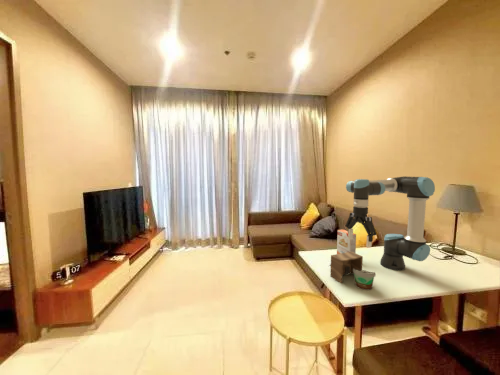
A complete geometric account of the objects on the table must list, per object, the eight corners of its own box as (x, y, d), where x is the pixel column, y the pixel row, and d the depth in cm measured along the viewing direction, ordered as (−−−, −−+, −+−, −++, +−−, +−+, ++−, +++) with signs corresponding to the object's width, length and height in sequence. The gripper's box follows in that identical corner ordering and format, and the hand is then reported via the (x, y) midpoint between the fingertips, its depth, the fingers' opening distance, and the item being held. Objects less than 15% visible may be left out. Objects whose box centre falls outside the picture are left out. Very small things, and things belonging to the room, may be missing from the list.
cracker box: (336, 254, 180) (337, 229, 178) (342, 253, 182) (343, 229, 180) (349, 261, 167) (350, 234, 165) (355, 260, 169) (356, 233, 167)
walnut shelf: (350, 271, 150) (351, 251, 149) (361, 277, 142) (362, 256, 141) (330, 276, 144) (331, 255, 143) (340, 283, 136) (341, 260, 134)
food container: (352, 287, 130) (352, 271, 130) (352, 283, 136) (352, 267, 135) (375, 292, 125) (376, 275, 124) (375, 287, 131) (375, 271, 130)
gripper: (339, 203, 136) (338, 237, 137) (373, 210, 112) (372, 251, 114) (349, 202, 138) (348, 236, 140) (385, 210, 114) (383, 249, 116)
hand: (359, 243), depth 127 cm, fingers open, 13 cm apart
